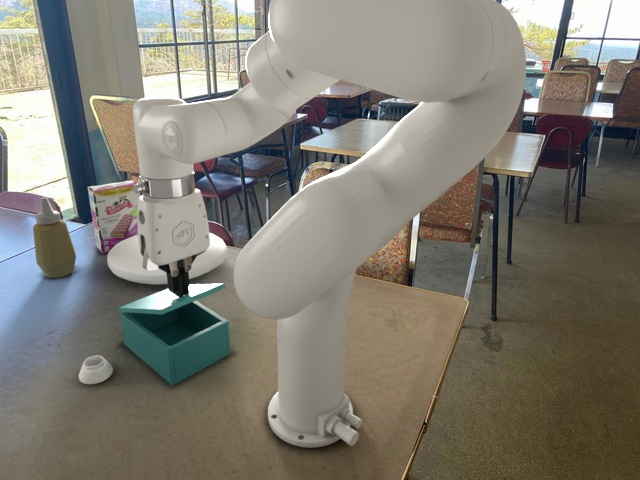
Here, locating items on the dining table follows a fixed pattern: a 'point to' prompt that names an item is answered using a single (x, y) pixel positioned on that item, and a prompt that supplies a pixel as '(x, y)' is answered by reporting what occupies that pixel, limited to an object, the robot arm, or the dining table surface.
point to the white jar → (95, 370)
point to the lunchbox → (177, 339)
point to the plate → (129, 266)
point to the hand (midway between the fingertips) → (179, 292)
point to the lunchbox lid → (170, 299)
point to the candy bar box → (113, 213)
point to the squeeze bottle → (53, 243)
